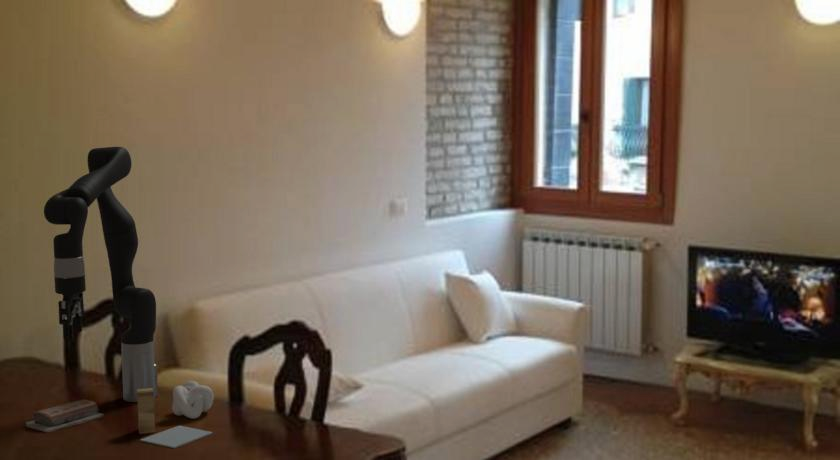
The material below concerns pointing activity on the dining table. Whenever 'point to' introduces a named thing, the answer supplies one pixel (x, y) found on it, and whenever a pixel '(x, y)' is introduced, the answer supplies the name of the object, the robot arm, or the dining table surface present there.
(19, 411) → the dining table surface
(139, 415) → the oak block
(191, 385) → the white decorative knot
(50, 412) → the packaged product
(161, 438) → the felt mat
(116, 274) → the robot arm
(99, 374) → the dining table surface
